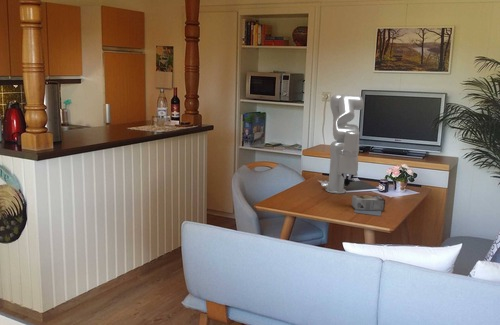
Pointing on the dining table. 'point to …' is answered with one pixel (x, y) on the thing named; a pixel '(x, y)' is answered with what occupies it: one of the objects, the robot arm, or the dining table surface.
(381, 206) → the coffee box
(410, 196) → the dining table surface
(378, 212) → the mat
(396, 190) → the dining table surface
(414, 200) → the dining table surface
